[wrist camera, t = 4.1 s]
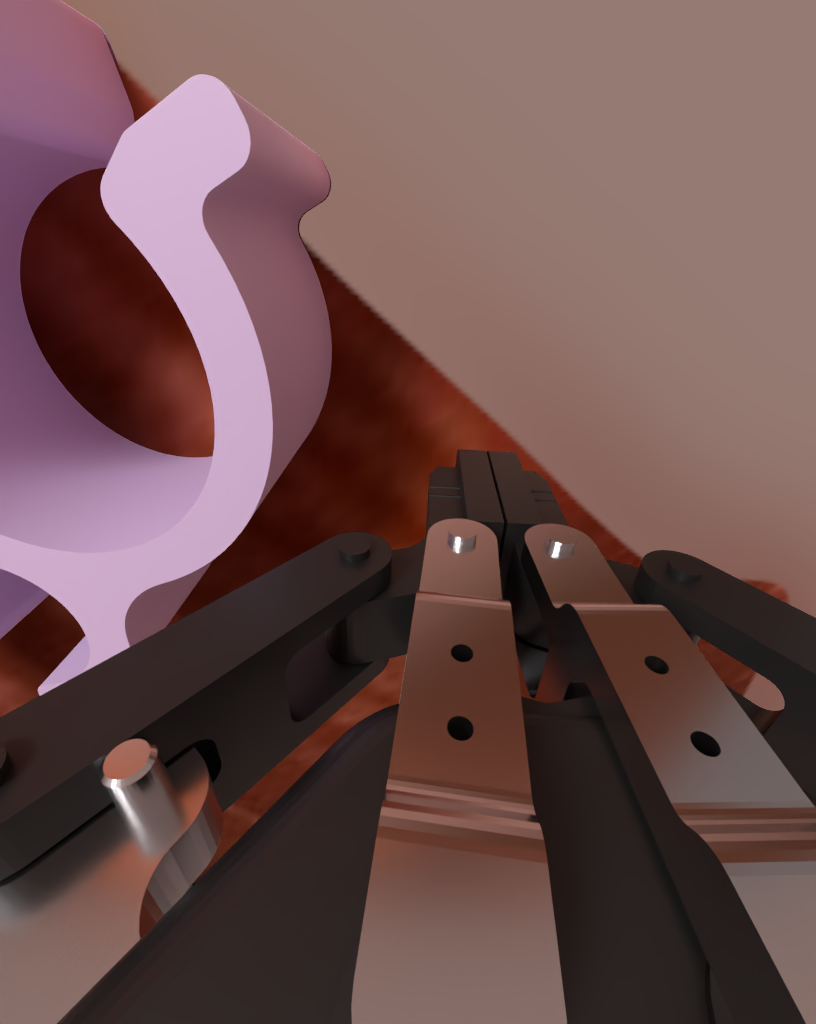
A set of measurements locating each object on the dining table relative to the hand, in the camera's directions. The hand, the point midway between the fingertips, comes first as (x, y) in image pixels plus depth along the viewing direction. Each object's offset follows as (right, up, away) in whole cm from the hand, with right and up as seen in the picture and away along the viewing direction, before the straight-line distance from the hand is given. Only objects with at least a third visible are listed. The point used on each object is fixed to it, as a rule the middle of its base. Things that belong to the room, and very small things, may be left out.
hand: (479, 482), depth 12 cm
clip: (-12, +4, +6) cm, 14 cm away
